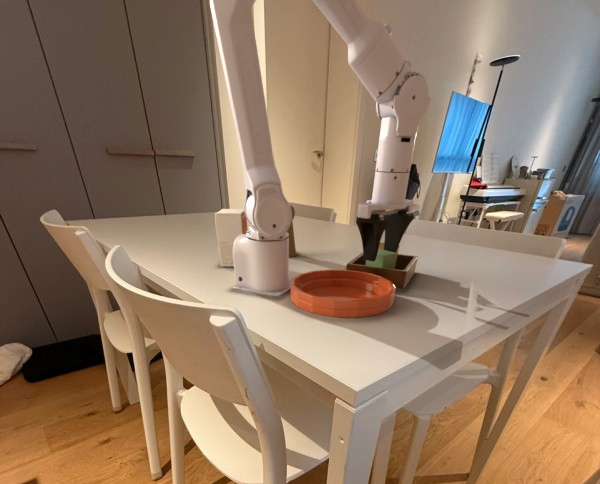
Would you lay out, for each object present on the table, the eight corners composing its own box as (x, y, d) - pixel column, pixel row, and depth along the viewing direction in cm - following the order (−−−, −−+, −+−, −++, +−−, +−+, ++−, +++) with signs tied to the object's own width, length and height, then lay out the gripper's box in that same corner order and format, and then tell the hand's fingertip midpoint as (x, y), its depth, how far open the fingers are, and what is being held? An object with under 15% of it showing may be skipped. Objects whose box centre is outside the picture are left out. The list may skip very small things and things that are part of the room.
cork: (293, 257, 82) (293, 206, 76) (269, 256, 83) (267, 205, 76) (298, 252, 87) (299, 203, 80) (275, 250, 88) (274, 202, 81)
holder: (344, 282, 66) (346, 263, 64) (363, 267, 76) (365, 250, 74) (402, 291, 63) (406, 271, 60) (414, 273, 72) (418, 256, 70)
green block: (380, 282, 65) (384, 255, 62) (363, 277, 68) (367, 250, 65) (392, 280, 66) (397, 253, 63) (376, 274, 69) (380, 248, 66)
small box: (245, 267, 74) (241, 213, 68) (219, 267, 74) (213, 212, 68) (250, 258, 80) (246, 208, 74) (226, 258, 80) (221, 208, 74)
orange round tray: (273, 308, 54) (272, 290, 52) (313, 280, 67) (314, 265, 65) (377, 328, 49) (381, 308, 47) (400, 294, 61) (403, 277, 60)
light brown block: (374, 268, 69) (378, 242, 67) (378, 268, 73) (382, 243, 71) (391, 270, 68) (396, 243, 66) (394, 270, 72) (399, 245, 70)
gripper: (394, 170, 63) (382, 248, 71) (347, 171, 55) (340, 259, 63) (429, 172, 59) (412, 254, 67) (384, 173, 51) (371, 266, 59)
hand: (379, 257), depth 65 cm, fingers open, 6 cm apart
